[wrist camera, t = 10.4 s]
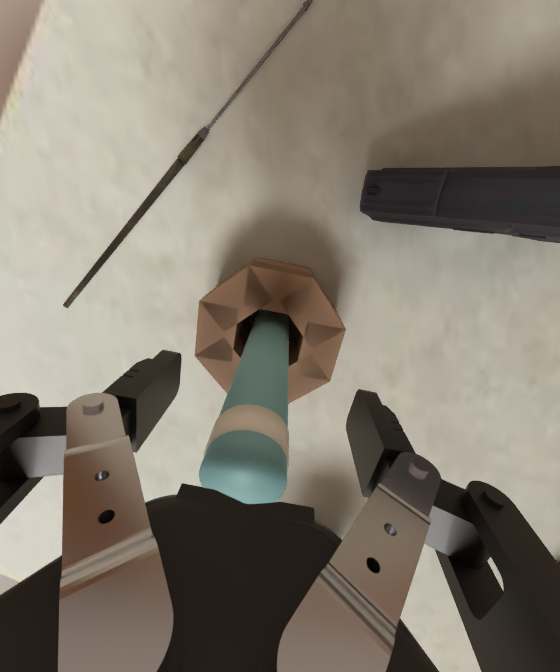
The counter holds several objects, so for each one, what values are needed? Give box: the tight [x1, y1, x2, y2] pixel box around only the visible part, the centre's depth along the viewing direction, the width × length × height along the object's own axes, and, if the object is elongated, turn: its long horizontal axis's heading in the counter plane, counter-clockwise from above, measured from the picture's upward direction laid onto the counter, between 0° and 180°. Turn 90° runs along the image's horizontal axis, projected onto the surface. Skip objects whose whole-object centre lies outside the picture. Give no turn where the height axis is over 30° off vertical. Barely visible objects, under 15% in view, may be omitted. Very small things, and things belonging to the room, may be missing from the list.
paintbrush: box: [63, 0, 312, 308], centre depth 18 cm, size 1×25×1 cm, turn 133°
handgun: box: [360, 166, 560, 243], centre depth 16 cm, size 3×14×10 cm
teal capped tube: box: [199, 309, 289, 504], centre depth 15 cm, size 3×3×14 cm
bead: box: [195, 258, 346, 404], centre depth 19 cm, size 9×9×4 cm
